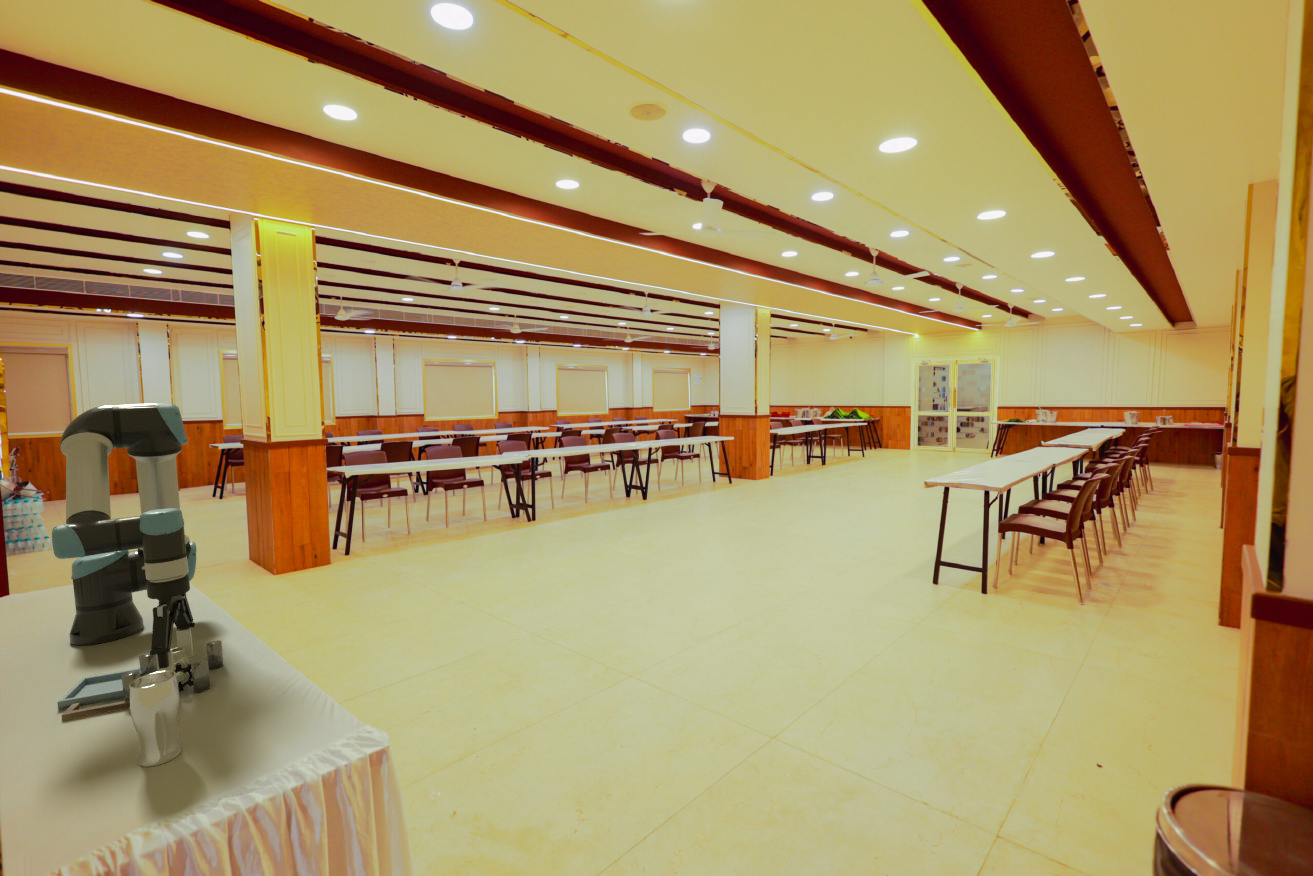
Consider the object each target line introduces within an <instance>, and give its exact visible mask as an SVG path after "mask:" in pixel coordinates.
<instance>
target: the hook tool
mask: <svg viewBox="0 0 1313 876" xmlns="http://www.w3.org/2000/svg"><path fill="white" fill-rule="evenodd" d="M125 709H130V700H127V701H124V700H123V701H118V702H113V703H107V704H106V703H105V704H102V705H101V704H100V705H95V706H90V707H85V708H81V706H80V703H76V704H72V705H71V706H70V707H69V708H66V710H65V711H63V713H62V714H61V721H66V720H67V721H68V720H72V719H78V718H83V717H88V716H93V715H97V714H98V715H99V714H103V713H109V712H115V711H120V710H125Z"/></svg>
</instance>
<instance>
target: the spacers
mask: <svg viewBox="0 0 1313 876" xmlns="http://www.w3.org/2000/svg"><path fill="white" fill-rule="evenodd" d="M161 647H162V646H161ZM161 647H160V648H161ZM205 647H206V658H207V659H206V660H199V661H196V662H194V663H191V664H192V665H191V668H192V669H191V672H192V679H191V680H192V681H193V686H192V689H193V693H195V694H196V693H197V694H198V693H204V692H206V691H208V690H210V689H211V679H210V678H211V677H210V670H211V671H212V670H217V669H220V668H222V667H223V666H224V656H223V654H224V653H223V643H222V640H220V639H218V640H212V641H209V642H207V643H205ZM138 660H139V668H140V671H141V676H144V675H147V674H150V673H154V672H158V671H157V662H156V654H155V655H150V652H147V653H143V654H141V655H140V656H138ZM140 671H131V672H128V673H125V674H123V675H122V685H123V694H124V698H123V701H127V700H130V687H129V685H130V683H131V682H132V681H134V680H135V679H137V678H139V677H140Z"/></svg>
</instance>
